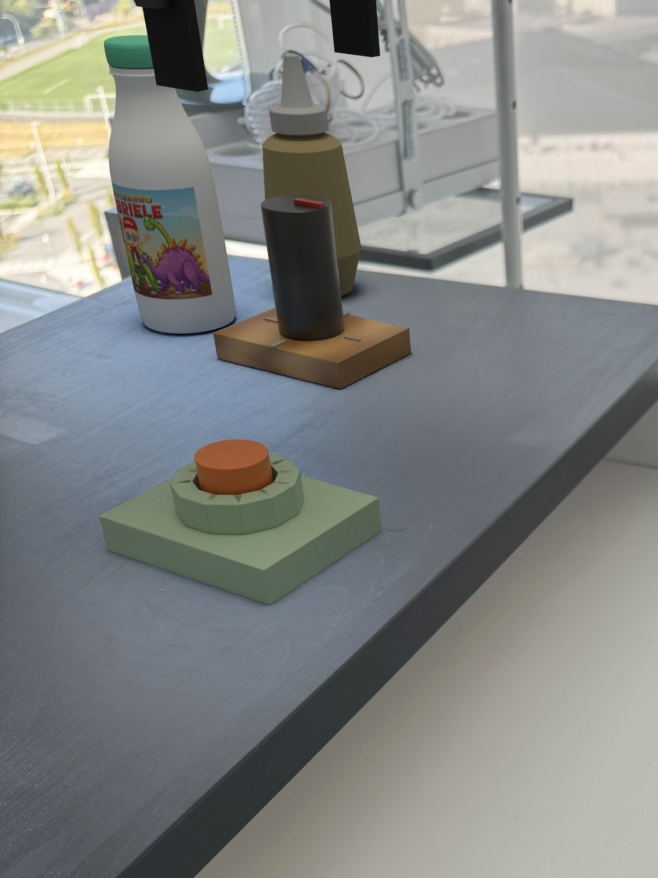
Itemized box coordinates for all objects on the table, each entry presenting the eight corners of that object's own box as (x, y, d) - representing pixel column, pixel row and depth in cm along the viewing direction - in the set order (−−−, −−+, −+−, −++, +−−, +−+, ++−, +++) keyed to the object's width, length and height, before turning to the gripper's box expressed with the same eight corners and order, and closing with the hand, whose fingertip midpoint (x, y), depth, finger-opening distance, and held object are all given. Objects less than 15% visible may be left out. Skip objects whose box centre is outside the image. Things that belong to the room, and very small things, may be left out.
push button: (184, 488, 65) (178, 458, 64) (233, 462, 68) (228, 433, 67) (239, 505, 64) (234, 475, 62) (287, 478, 66) (283, 448, 65)
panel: (216, 359, 90) (211, 330, 89) (293, 325, 97) (289, 298, 95) (339, 390, 86) (336, 360, 85) (412, 353, 92) (410, 325, 91)
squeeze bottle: (256, 299, 102) (219, 59, 90) (300, 273, 108) (271, 45, 96) (340, 310, 100) (313, 66, 89) (380, 283, 106) (360, 51, 95)
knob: (265, 332, 89) (245, 200, 83) (307, 314, 93) (290, 186, 87) (316, 344, 88) (299, 210, 82) (357, 326, 91) (344, 196, 85)
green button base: (107, 550, 67) (89, 485, 64) (227, 485, 74) (216, 424, 71) (270, 606, 62) (258, 538, 60) (382, 531, 69) (375, 467, 67)
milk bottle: (180, 301, 101) (126, 27, 88) (255, 313, 99) (212, 35, 86) (121, 328, 95) (55, 40, 83) (200, 341, 93) (145, 49, 81)
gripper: (13, -619, 38) (151, 115, 52) (450, -476, 55) (468, 49, 69) (-133, -596, 41) (34, 95, 55) (326, -467, 58) (366, 36, 71)
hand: (276, 70), depth 62 cm, fingers open, 13 cm apart
